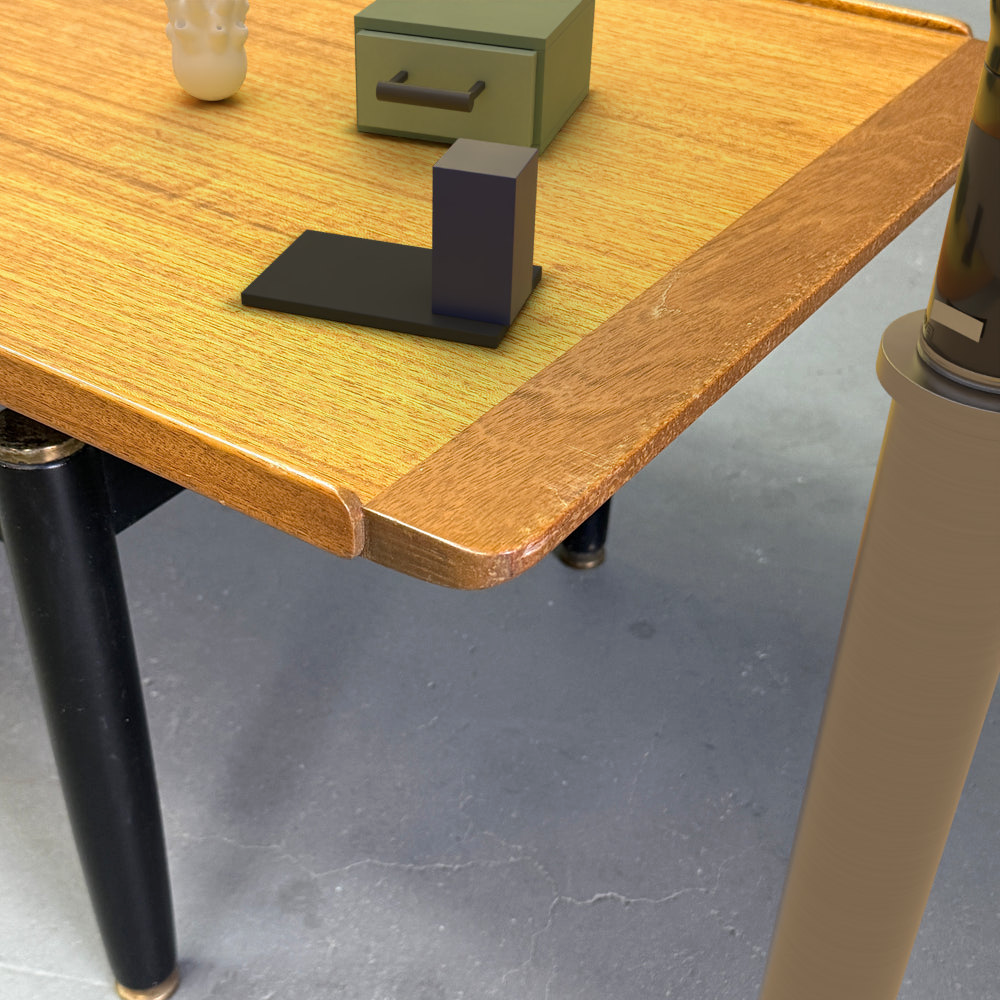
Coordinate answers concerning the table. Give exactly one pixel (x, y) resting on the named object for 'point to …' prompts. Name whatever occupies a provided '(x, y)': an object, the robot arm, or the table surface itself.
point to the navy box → (483, 230)
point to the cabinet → (505, 22)
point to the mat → (364, 287)
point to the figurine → (208, 46)
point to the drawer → (446, 87)
